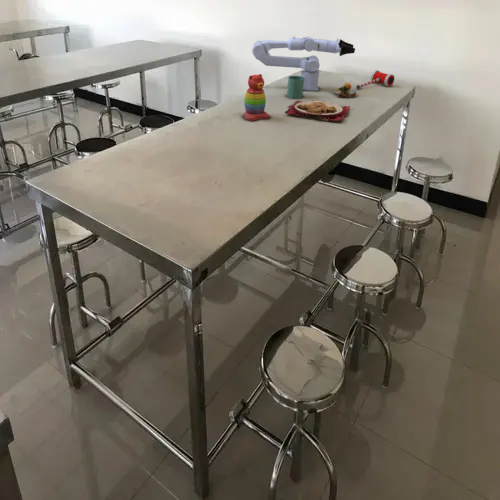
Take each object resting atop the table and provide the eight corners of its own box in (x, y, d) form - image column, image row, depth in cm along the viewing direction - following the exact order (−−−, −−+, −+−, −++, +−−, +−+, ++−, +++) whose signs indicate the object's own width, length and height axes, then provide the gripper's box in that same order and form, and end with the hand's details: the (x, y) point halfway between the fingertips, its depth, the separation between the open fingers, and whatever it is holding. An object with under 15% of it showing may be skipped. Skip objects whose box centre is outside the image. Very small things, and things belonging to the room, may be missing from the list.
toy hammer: (365, 92, 253) (367, 79, 249) (348, 86, 261) (350, 74, 257) (393, 85, 265) (395, 73, 261) (376, 81, 273) (378, 69, 269)
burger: (340, 90, 254) (341, 75, 250) (360, 94, 248) (362, 79, 244) (327, 94, 247) (329, 79, 242) (348, 99, 240) (350, 84, 236)
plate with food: (341, 124, 210) (342, 116, 208) (284, 114, 216) (284, 107, 214) (349, 109, 229) (351, 102, 227) (297, 101, 235) (298, 94, 233)
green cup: (286, 98, 239) (288, 79, 234) (287, 93, 246) (288, 75, 241) (302, 99, 239) (304, 80, 234) (302, 94, 245) (304, 76, 240)
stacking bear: (249, 121, 208) (250, 79, 199) (238, 114, 216) (239, 73, 206) (271, 118, 213) (273, 76, 203) (260, 111, 220) (261, 71, 210)
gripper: (329, 40, 235) (357, 43, 235) (327, 34, 247) (354, 37, 247) (326, 55, 239) (354, 58, 239) (325, 49, 251) (351, 51, 251)
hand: (353, 48), depth 243 cm, fingers open, 7 cm apart
